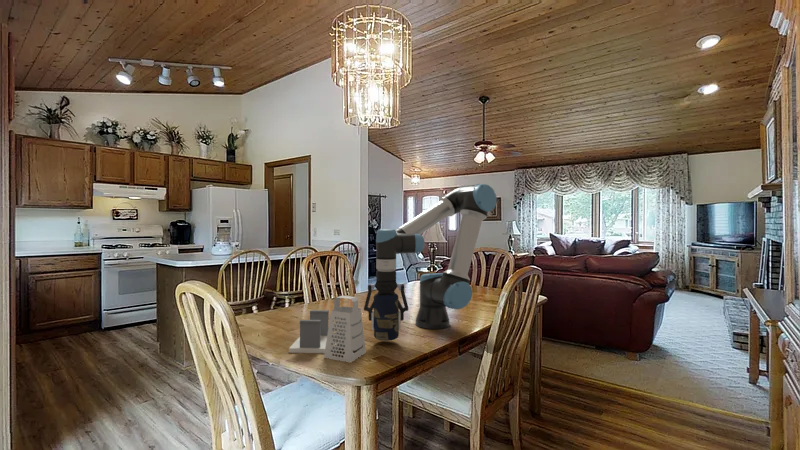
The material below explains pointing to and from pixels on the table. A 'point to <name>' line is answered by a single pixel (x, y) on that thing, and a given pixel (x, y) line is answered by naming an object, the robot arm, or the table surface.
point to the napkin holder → (312, 333)
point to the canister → (386, 317)
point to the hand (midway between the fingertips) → (386, 329)
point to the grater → (345, 332)
